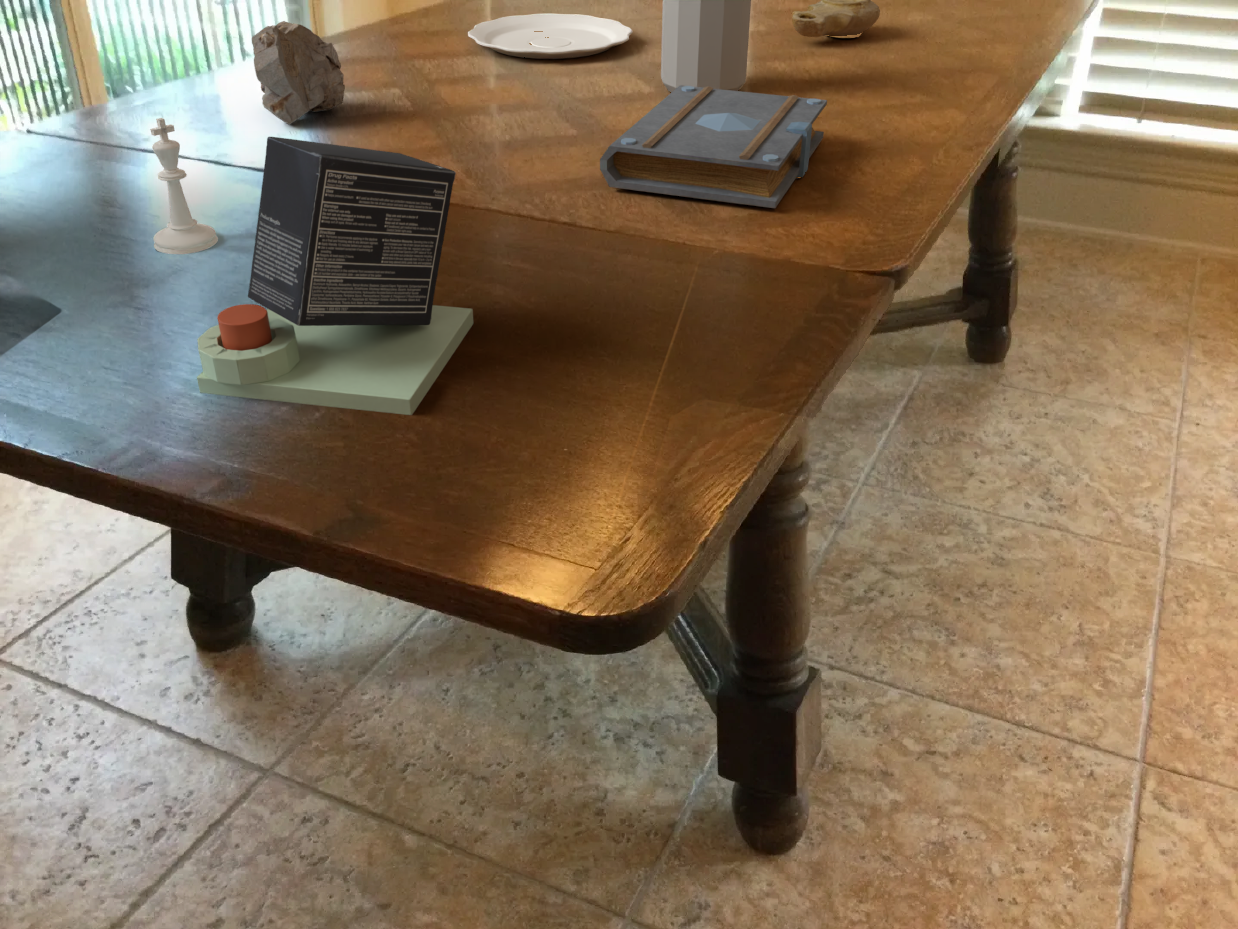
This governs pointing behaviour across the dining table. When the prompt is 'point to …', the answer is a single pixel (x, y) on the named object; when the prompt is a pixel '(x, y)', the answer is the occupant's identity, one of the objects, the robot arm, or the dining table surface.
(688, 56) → the jar
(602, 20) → the plate
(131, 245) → the dining table surface
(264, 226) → the small box
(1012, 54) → the dining table surface
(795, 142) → the book
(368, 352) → the pale green flat block
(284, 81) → the rock
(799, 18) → the oil lamp
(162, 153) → the chess piece
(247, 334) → the button
